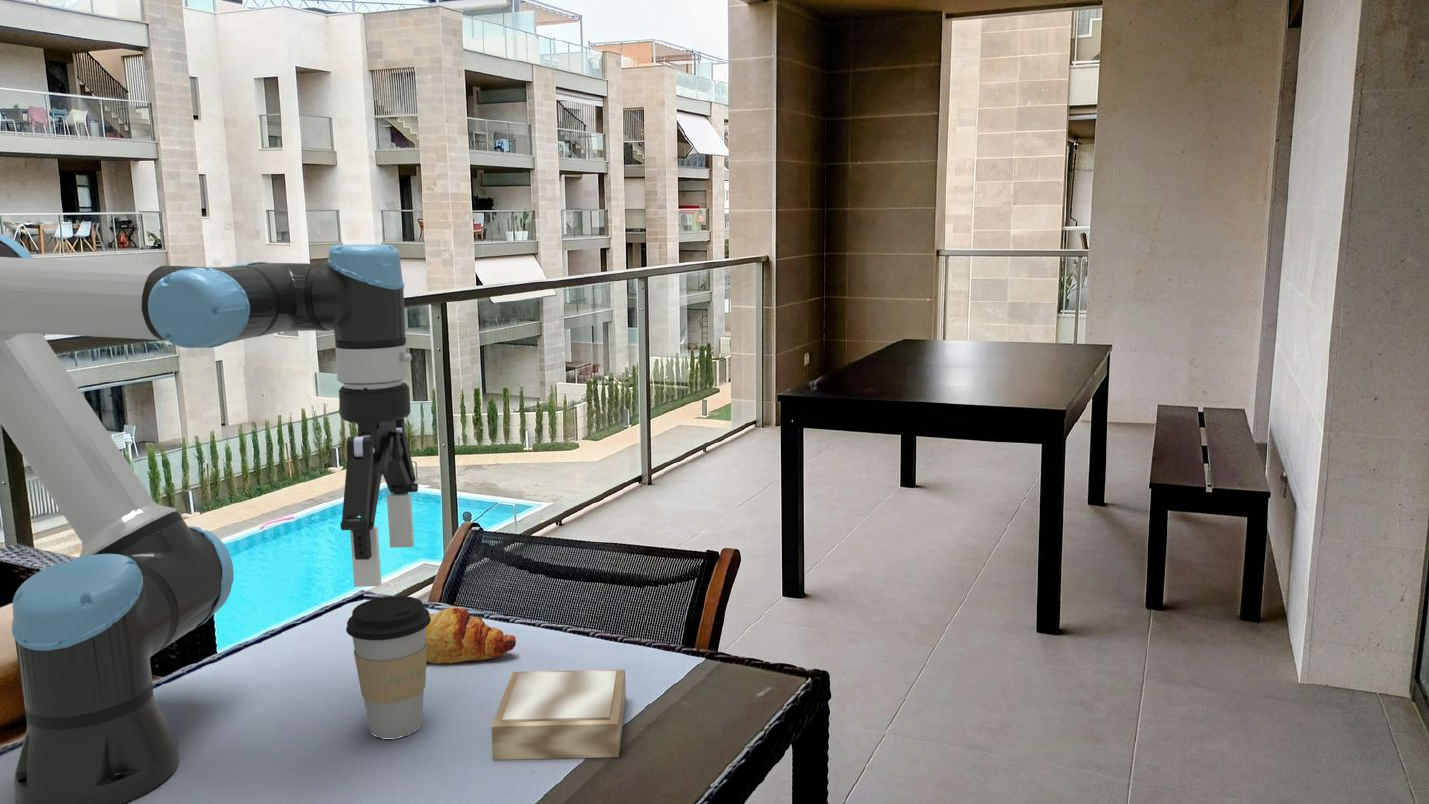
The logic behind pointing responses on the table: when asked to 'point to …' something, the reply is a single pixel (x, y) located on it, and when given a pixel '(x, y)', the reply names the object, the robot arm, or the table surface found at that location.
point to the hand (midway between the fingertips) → (386, 565)
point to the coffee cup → (391, 662)
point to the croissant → (463, 638)
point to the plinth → (560, 715)
